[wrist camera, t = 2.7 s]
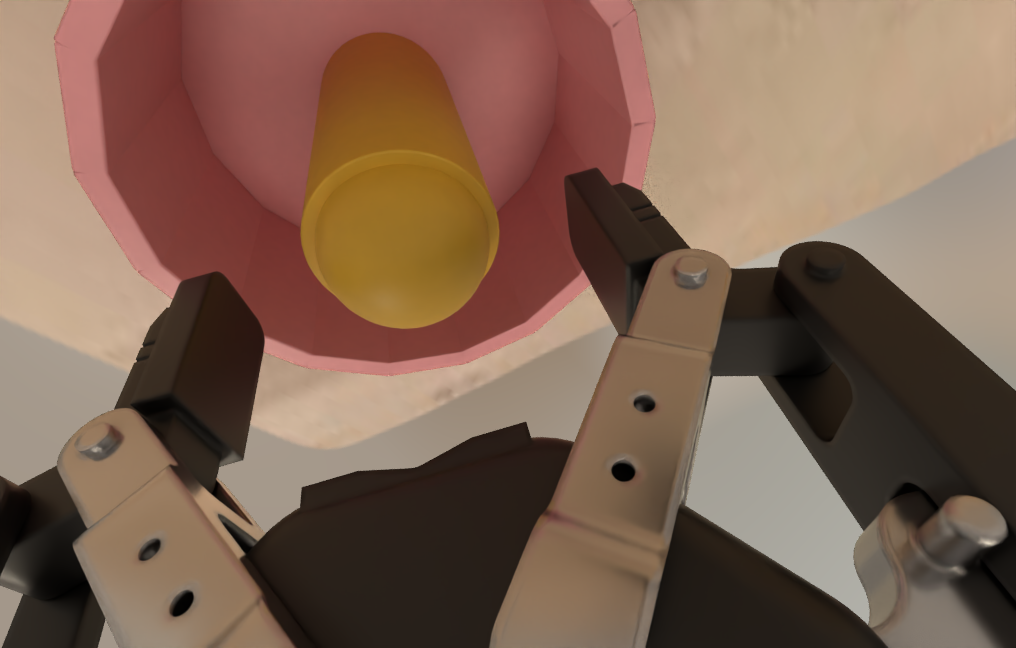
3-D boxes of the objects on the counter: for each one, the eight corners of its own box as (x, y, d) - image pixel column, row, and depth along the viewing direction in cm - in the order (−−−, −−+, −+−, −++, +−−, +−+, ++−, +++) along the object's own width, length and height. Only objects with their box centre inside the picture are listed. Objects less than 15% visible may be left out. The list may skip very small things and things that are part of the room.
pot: (53, -173, 13) (-162, -189, 7) (589, -170, 15) (717, -181, 10) (252, 274, 23) (220, 404, 17) (557, 235, 25) (611, 340, 20)
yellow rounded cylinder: (305, 36, 17) (257, 213, 8) (443, 28, 17) (521, 184, 9) (337, 166, 20) (325, 387, 12) (453, 155, 20) (518, 355, 12)
